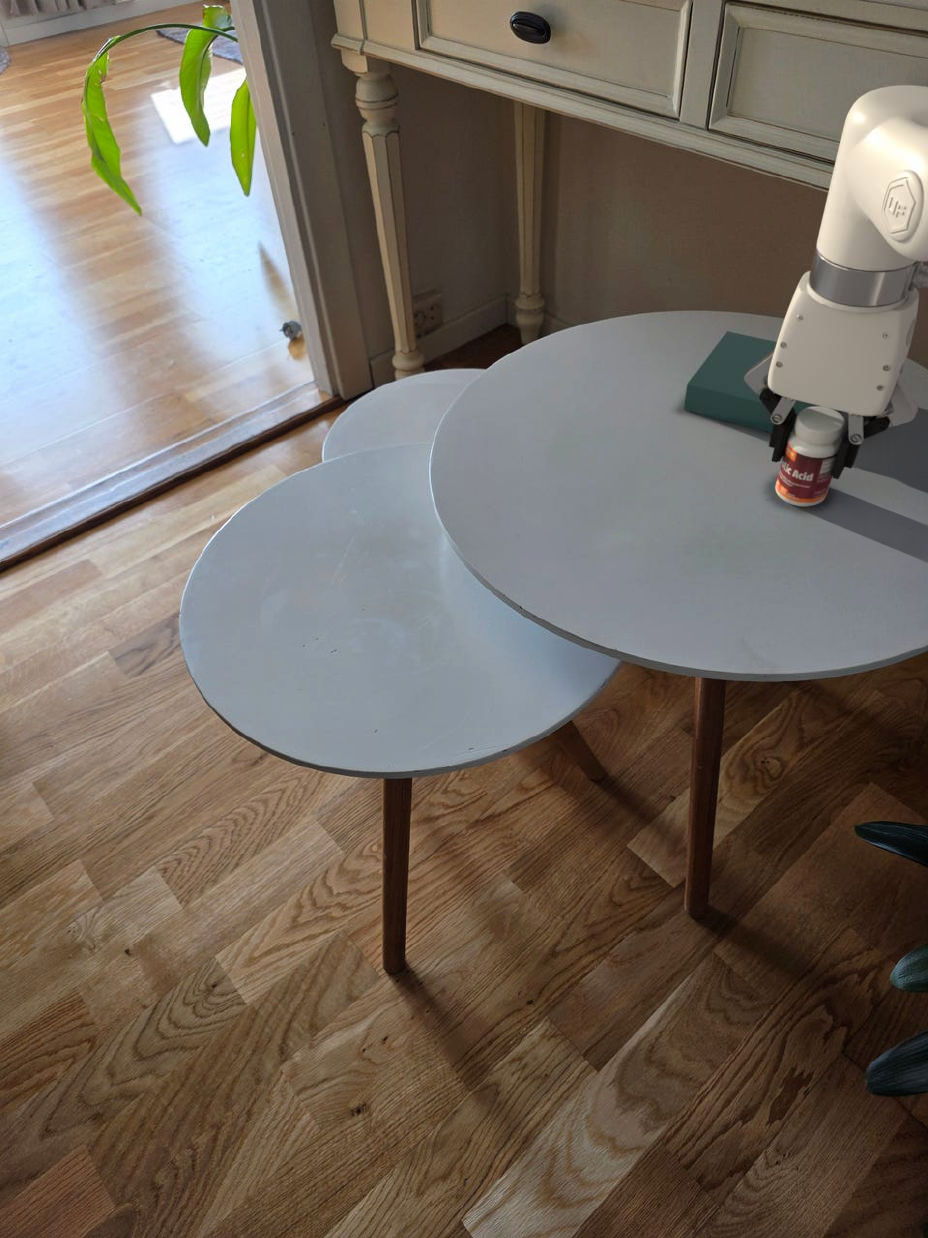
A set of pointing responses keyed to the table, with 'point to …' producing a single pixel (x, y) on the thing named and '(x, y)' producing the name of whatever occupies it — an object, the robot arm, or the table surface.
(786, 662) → the table surface
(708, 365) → the teal rectangular block
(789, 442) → the pill bottle
